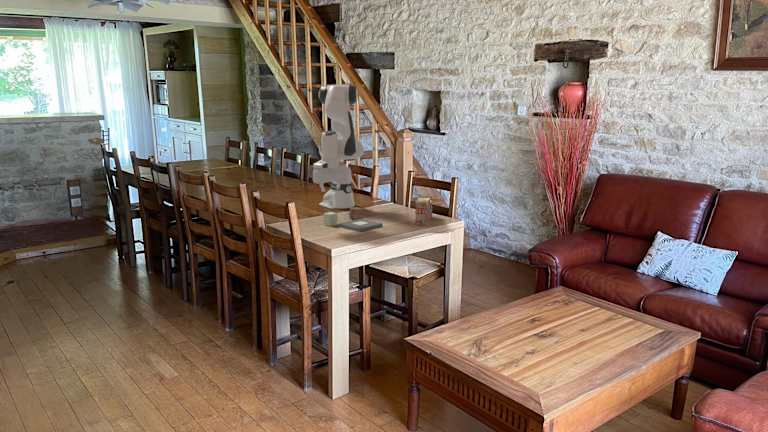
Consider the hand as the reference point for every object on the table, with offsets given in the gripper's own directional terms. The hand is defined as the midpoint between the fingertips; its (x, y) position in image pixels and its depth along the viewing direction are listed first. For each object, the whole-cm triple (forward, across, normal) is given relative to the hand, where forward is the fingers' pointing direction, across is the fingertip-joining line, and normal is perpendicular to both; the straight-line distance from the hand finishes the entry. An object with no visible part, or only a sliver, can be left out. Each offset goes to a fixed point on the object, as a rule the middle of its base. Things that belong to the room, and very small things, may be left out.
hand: (330, 190), depth 314 cm
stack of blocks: (+18, -41, +28) cm, 52 cm away
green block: (+18, 0, -1) cm, 18 cm away
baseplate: (+18, -8, +13) cm, 24 cm away
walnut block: (+18, -18, -1) cm, 26 cm away
